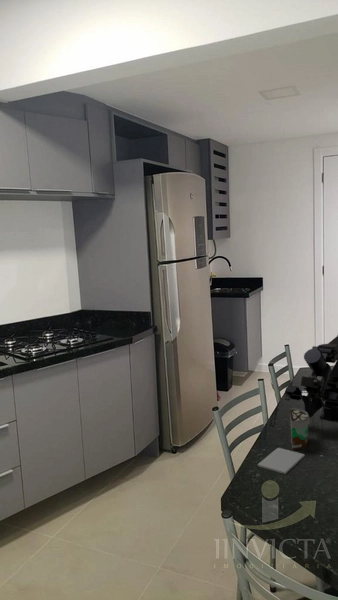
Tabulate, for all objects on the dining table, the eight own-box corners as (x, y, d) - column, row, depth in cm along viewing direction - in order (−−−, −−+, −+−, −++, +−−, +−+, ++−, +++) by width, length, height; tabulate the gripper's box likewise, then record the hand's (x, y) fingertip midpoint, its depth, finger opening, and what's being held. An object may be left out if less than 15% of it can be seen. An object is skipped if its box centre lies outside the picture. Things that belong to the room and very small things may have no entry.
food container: (313, 452, 147) (311, 422, 145) (292, 452, 148) (291, 421, 147) (309, 435, 159) (308, 407, 157) (290, 435, 160) (289, 407, 159)
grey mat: (278, 449, 151) (277, 447, 151) (304, 456, 145) (304, 454, 145) (257, 466, 141) (257, 464, 141) (285, 474, 135) (285, 472, 135)
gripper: (286, 363, 164) (272, 403, 157) (339, 369, 152) (327, 413, 145) (297, 378, 171) (284, 417, 164) (348, 386, 159) (337, 428, 152)
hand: (307, 419), depth 156 cm, fingers closed
